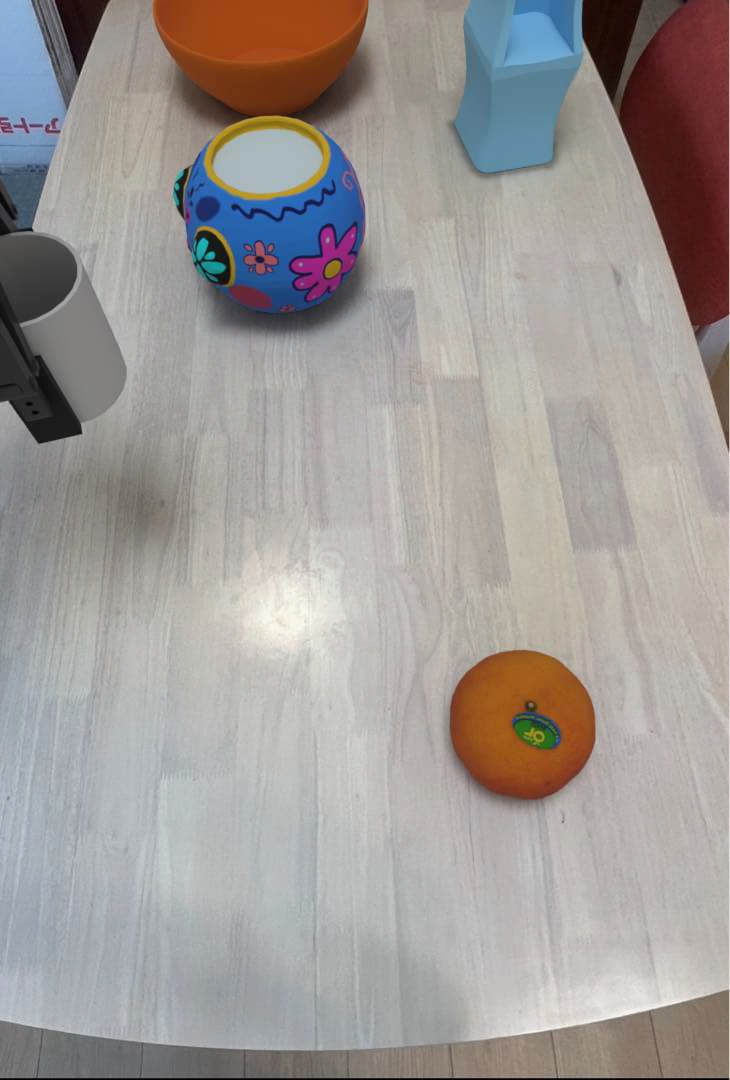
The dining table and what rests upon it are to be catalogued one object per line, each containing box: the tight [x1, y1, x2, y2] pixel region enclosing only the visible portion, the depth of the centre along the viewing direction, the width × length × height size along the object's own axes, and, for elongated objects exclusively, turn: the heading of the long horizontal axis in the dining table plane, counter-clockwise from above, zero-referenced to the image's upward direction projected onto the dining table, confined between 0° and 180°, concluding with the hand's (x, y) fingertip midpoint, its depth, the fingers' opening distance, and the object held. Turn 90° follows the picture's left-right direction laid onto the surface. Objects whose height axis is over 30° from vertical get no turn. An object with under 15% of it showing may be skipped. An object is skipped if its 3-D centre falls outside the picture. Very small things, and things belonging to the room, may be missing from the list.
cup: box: [0, 231, 128, 424], centre depth 45 cm, size 7×10×9 cm
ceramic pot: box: [172, 116, 367, 314], centre depth 74 cm, size 18×18×15 cm
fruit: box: [449, 649, 597, 801], centre depth 55 cm, size 11×10×8 cm
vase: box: [453, 0, 584, 174], centre depth 79 cm, size 10×10×25 cm
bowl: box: [152, 0, 369, 117], centre depth 92 cm, size 25×25×10 cm
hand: (53, 384), depth 48 cm, fingers closed on cup, 7 cm apart
